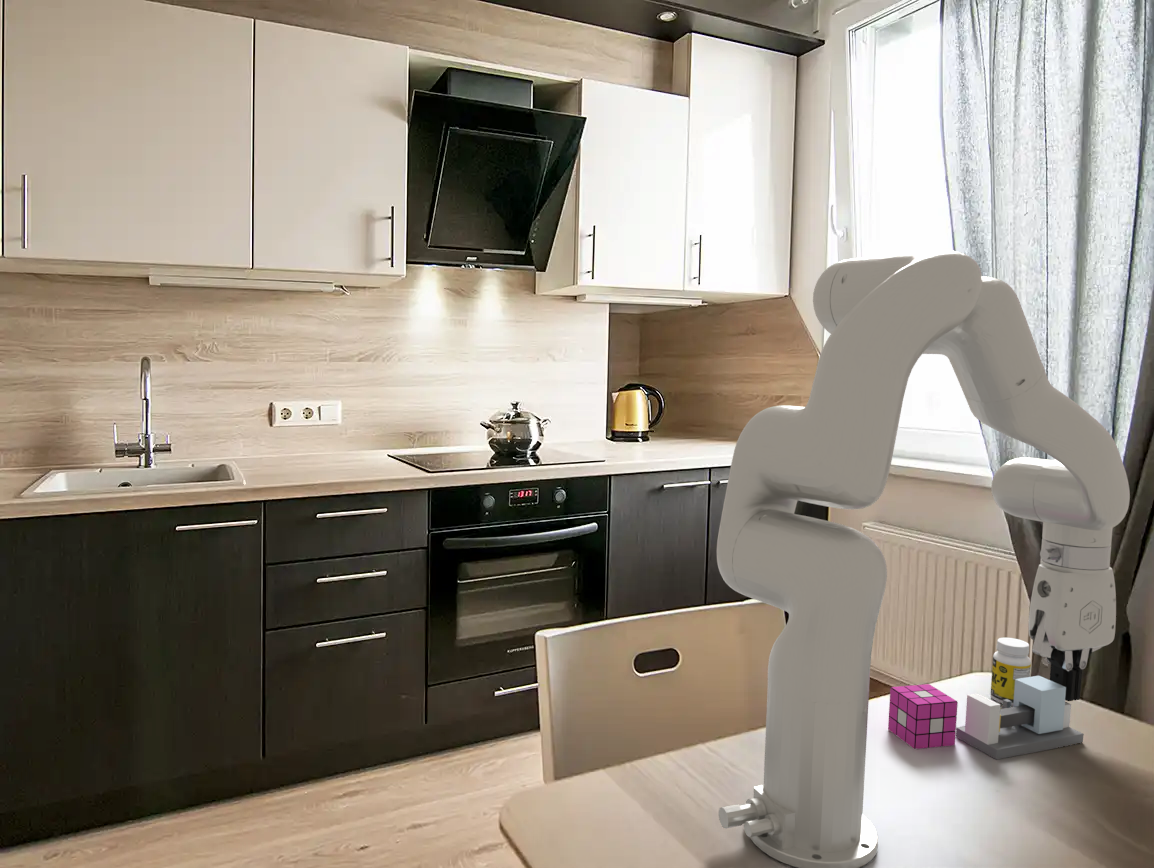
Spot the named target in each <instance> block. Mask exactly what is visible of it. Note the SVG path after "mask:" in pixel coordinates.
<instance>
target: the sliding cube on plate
mask: <svg viewBox="0 0 1154 868" xmlns="http://www.w3.org/2000/svg"><path fill="white" fill-rule="evenodd" d="M1011 703H1012V701H1010V700H1008V699H1005V700H1003V704H1002V708H1001V703H999V702H997V701H995V700H993V699H992V700H991V699H989V698H988V697H986V696H983V695H982V694H980V693H978V692H977V693H970V694H966V706H965V707H966V709H965V722H964V723H965V724H964V725H962V726H956V735H955V738H957V739H959V740H960V741H963V742H964V743H966V744H968V745H970V746H972V747H973V748H974V749H975V748H976V749H977V750H979V751H980V752H982V753H984V754H986V755H988V756H990V757H991V758H993V759H994V760H1000V759H1005V758H1012V757H1016V756H1022V755H1026V754H1032V753H1039V752H1043V751H1049V750H1052V749H1058V747H1059V748H1064V747H1063V746H1065V747H1069V746H1068V745H1070V746H1072V745H1071V744H1075V745H1077V744H1076V743H1080V744H1082V743H1081V742H1083V743H1084V733H1083V732H1081V731H1079V730H1077V729H1074V728H1073V727H1070V726H1071V725H1070V724H1071V723H1070V722H1071V713H1072V711H1071V710H1072V703H1069V702H1068V701H1065V708H1064V721H1063V730H1058V731H1053V732H1047V733H1042V734H1038V733H1036V732H1034V731H1032V730H1030V729H1028V728H1026V727H1024V726H1022V725H1023V724H1028V723H1034V714H1035V709H1034V708H1032V707H1030V706H1028V705H1022V706H1016V707H1013V706H1011Z"/></svg>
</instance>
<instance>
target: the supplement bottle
mask: <svg viewBox="0 0 1154 868" xmlns="http://www.w3.org/2000/svg"><path fill="white" fill-rule="evenodd" d="M995 646H996V651H995V652H994V653H993V654H992V655H993V656H992V666H991V682H990V698H991V699H992V701H994V702H996V703H998V704H1000V705H1003V700H1005V699H1008V700H1010V701H1012V703H1011V707H1013V702H1014V688H1015V679H1019V678H1026V677H1031V672H1032V671H1031V668H1032V660H1031V658H1030V657H1029V655H1030V654H1029V653H1030V644H1029V642H1027V641H1025V640H1022V639H1019V638H1014V637H999V638H998V639H997V640H996V645H995Z"/></svg>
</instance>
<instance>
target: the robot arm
mask: <svg viewBox="0 0 1154 868" xmlns="http://www.w3.org/2000/svg"><path fill="white" fill-rule="evenodd" d="M812 294H813V295H812V296H813V297H812V303H813V310H814V314H815V316H816V318H817V321H818V323H819V324H820V325H821V327H823V329H824V330H825V331H827V332H828V333H829V334H830V335H829V336H828V338H827V340H826V341H825V343H824V346H823V347H822V350H821V352H820V355H819V358H818V361H817V365H816V370H815V374H814V378H813V382H812V386H811V390H810V393H809V397H808V398H809V399H808V401H807V404H805V406H797V405H783V404H781V405H773V406H771V407H767V408H764V409H763V410H760V411H759V412H757V413H756V414H755V415H753V416H752V417H751V418H750V419H749V421H748V422H747V423H746V424H745V426H744V427H743V429H742V431H741V433H740V434H739V437H738V439H737V441H736V443H735V446H734V450H733V455H732V458H731V459H732V460H731V463H730V469H729V474H728V480H727V484H726V485H727V486H726V490H725V496H724V501H723V506H722V511H721V517H720V522H719V529H718V534H717V535H718V536H717V541H716V563H717V568H718V571H719V574H720V576H721V578H722V579H723V581H724V583H725V584H726V585H727V586H728V587H729V588H731V589H732V590H733V591H735V592H736V593H738V594H741V595H743V596H745V597H748V598H751V599H752V600H755V601H758V602H761V603H763V604H767V605H769V606H772V607H774V608H777V609H780V611H781V610H782V611H784V612H787V613H788V620H787V623H786V625H784V628H783V629H782V631H781V632H780V634H779V635H778V637H777V638H776V640H775V641H774V643H773V645H772V648H771V650H770V653H769V657H768V666H767V695H766V717H765V740H764V741H765V743H764V744H765V745H764V760H763V761H764V768H763V784H760V785H757V786H753V797H752V798H748V799H747V800H745V803H740V804H731V805H726V806H721V807H719V809H718V820H719V823H720V825H721V827H723V829H729V828H736V827H739V826H743V829H744V833H745V834H746V836H747V837H748V838H749V839H750V840H751V841H752V843H753V844H754V845H755V846H756V847H758V849H760V850H761V851H762V852H763V853H765V854H766V855H768V856H769V857H771V858H773V859H774V860H776V861H779V862H781V863H783V864H786V865H789V866H792V867H794V868H861V867H863V866H865V865H867V864H868V863H869V862H871V861H872V860H873V859H874V857H875V856H876V855H877V853H878V847H879V844H878V843H879V835H878V832H877V829H876V828H875V826H874V825H873V822H871V820H869V819H868V818H867V817H866V816H865V815H864V814H863V811H864V810H863V809H864V794H865V793H864V792H865V791H864V790H865V773H866V758H867V757H866V755H867V754H866V753H867V740H868V739H867V738H868V737H867V736H868V720H869V719H868V717H869V701H870V699H869V698H870V676H871V675H870V674H871V663H872V652H873V651H872V650H873V643H874V637H875V632H876V626H877V622H878V618H879V614H880V609H881V607H882V604H883V600H884V595H885V593H886V588H887V587H886V586H887V581H888V580H887V579H888V569H887V567H888V566H887V562H886V558H885V555H884V554H883V552H882V550H881V548H880V547H879V546H878V544H877V543H876V542H875V540H873V539H872V538H871V537H869V535H866V534H865V533H863V532H862V531H860V530H858V529H855V528H854V527H851V526H848V525H846V524H841V523H838V522H834V521H829V520H826V519H820V518H817V517H813V516H806V515H801V514H796V513H795V512H796V508H797V503H798V502H799V501H800V502H802V503H803V502H804V503H808V504H813V505H817V506H823V507H828V508H835V509H841V510H860V509H865V508H868V507H871V506H872V505H874V504H875V503H876V502H877V501H878V500H879V499H880V497H881V496H882V494H883V493H884V490H885V487H886V485H887V481H888V478H889V474H890V469H891V465H892V461H893V456H894V450H895V444H896V440H897V434H898V430H899V429H898V428H899V423H900V417H901V415H902V414H901V413H902V407H903V401H904V397H905V395H906V394H905V393H906V389H907V385H908V382H909V377H910V375H911V373H912V371H913V369H914V366H915V365H916V363H917V362H918V360H919V359H920V357H922V355H942V356H944V357H947V359H948V360H949V363H950V364H951V366H952V370H953V371H954V373H955V376H956V378H957V381H958V383H959V385H960V388H961V390H962V393H963V395H964V398H965V401H966V402H967V405H968V406H969V407H968V408H969V410H970V411H971V413H972V415H973V417H975V418H976V419H977V420H978V421H980V423H982V424H984V425H986V426H988V427H989V428H991V429H993V430H995V431H997V432H998V433H1001V434H1003V435H1005V436H1007V437H1010V438H1012V439H1014V440H1017V441H1018V442H1022V443H1024V444H1027V445H1029V446H1031V447H1033V448H1035V449H1037V450H1040V451H1041V452H1043V453H1045V454H1046V455H1049V456H1050V457H1051V458H1053V459H1046V458H1040V457H1039V458H1038V457H1029V456H1027V457H1025V456H1023V457H1015V458H1013V459H1009V460H1007V462H1005V463H1003V464H1002V465H1001V466H1000V467H999V468H998V469H997V470H996V472H995V473H994V475H993V477H992V481H991V495H992V498H993V501H994V502H995V504H996V505H997V507H998V508H999V509H1001V510H1002V511H1003V512H1005V513H1006V514H1009V515H1010V516H1012V517H1017V518H1021V519H1026V520H1031V521H1036V522H1042V523H1043V524H1042V535H1041V537H1042V539H1041V549H1040V551H1039V556H1040V564H1038V567H1037V570H1036V574H1035V578H1034V581H1033V587H1032V592H1031V598H1030V605H1029V613H1028V636H1029V637H1030V639H1031V640H1033V645H1032V649H1031V651H1032V653H1033V654H1036V655H1037V656H1040V657H1043V658H1046V660H1047V664H1050V673H1049V680H1050V681H1053V682H1055V683H1057V684H1060V685H1062V686H1064V687H1066V695H1065V702H1073V701H1079V700H1080V699H1081V690H1082V678H1083V676H1082V675H1083V670H1084V669H1086V667H1087V664H1088V659H1089V657H1090V655H1091V654H1092V653H1093V652H1096V651H1098V650H1100V649H1102V648H1103V647H1105V646H1108V645H1110V644H1111V643H1113V641H1114V640H1115V634H1116V623H1117V622H1116V621H1117V617H1116V616H1117V596H1116V595H1117V593H1116V582H1115V576H1114V571H1113V568H1112V567H1111V564H1110V563H1111V554H1112V553H1111V552H1112V539H1113V528H1114V527H1116V526H1118V525H1119V524H1120V523H1122V521H1123V520H1124V518H1125V517H1126V516H1127V515H1126V514H1127V513H1128V510H1129V506H1130V500H1131V499H1130V498H1131V495H1130V494H1131V492H1130V485H1129V479H1128V475H1127V472H1126V469H1125V465H1124V463H1123V460H1122V455H1121V454H1120V450H1119V448H1118V447H1117V444H1116V442H1115V440H1114V438H1113V437H1112V435H1111V434H1110V432H1109V431H1108V430H1107V429H1106V427H1104V426H1103V425H1102V424H1101V423H1100V421H1098V420H1097V419H1096V418H1095V417H1093V416H1092V415H1091V414H1090V413H1089V412H1088V411H1086V410H1085V409H1084V408H1083V407H1081V406H1080V405H1079V404H1078V403H1077V402H1076V401H1074V400H1072V398H1070V397H1069V396H1067V395H1066V394H1064V393H1063V392H1061V391H1059V390H1058V389H1057V388H1055V386H1053V385H1052V384H1051V382H1050V380H1049V378H1048V375H1047V373H1046V370H1045V367H1044V364H1043V362H1042V360H1041V357H1040V353H1039V352H1038V351H1039V350H1038V348H1037V345H1036V342H1035V340H1034V337H1033V335H1032V331H1031V328H1030V326H1029V324H1028V321H1027V318H1026V314H1025V312H1024V310H1023V306H1022V305H1021V302H1020V300H1019V298H1018V295H1017V293H1016V291H1015V290H1014V289H1013V288H1012V286H1010V285H1009V284H1008V283H1007V282H1006V281H1004V280H1001V279H999V278H996V277H990V276H982V270H981V267H980V265H979V264H978V263H977V261H976V260H975V259H974V258H972V257H971V256H969V255H967V254H966V253H963V252H959V251H956V250H949V249H934V250H931V249H930V250H920V251H909V252H907V251H906V252H900V253H893V254H887V255H886V254H884V255H875V256H866V257H865V256H864V257H856V258H849V259H843V260H840V261H837V262H835V263H833V264H832V265H830V266H829V267H827V268H826V269H825V270H824V271H823V272H822V273H821V274H820V276H819V277H818V279H817V281H816V283H815V285H814V290H813V293H812Z"/></svg>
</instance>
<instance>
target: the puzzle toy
mask: <svg viewBox="0 0 1154 868" xmlns="http://www.w3.org/2000/svg"><path fill="white" fill-rule="evenodd" d="M889 689H890V690H889V691H890V692H889V704H888V705H889V707H888V726H887V727H888V728H887V730H888V731H889V732H890V733H892V734H893V735H895V737H897V738H899V739H900V740H901V741H903V742H904V743H906V744H907V745H908V746H909V747H911V748H912V749H914V750H922V749H929V748H930V749H932V748H942V747H949V746H950V747H951V746H952V747H953V746H955V745H956V727H957V720H958V719H957V715H958V700H956V699H954V698H953V697H951V696H949V695H948V694H946V693H944V692H943V691H941V690H940V689H938V688H936V687H935V686H933V685H931V684H929V683H924V684H914V685H913V684H911V685H901V686H900V685H899V686H890V688H889Z"/></svg>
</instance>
